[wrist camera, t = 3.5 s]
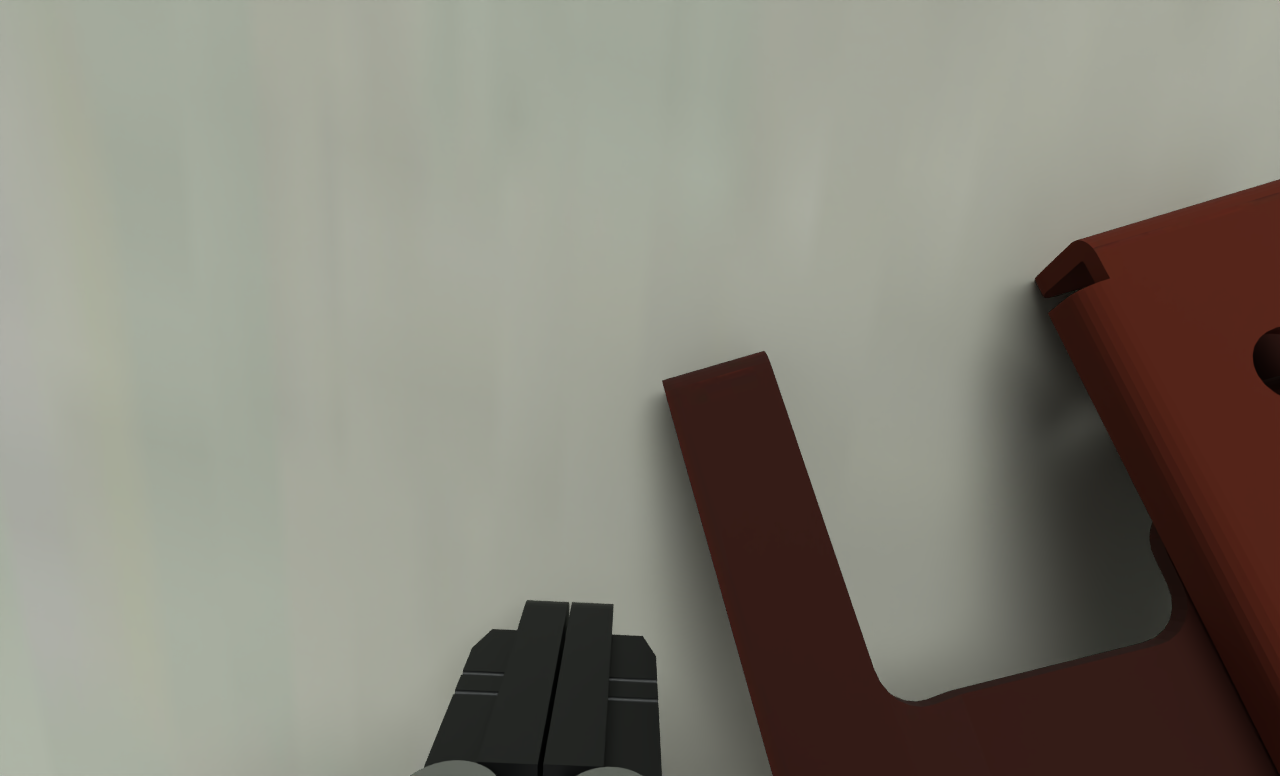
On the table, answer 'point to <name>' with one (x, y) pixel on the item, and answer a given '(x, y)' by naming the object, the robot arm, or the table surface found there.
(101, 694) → the table surface
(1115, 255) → the bracket
